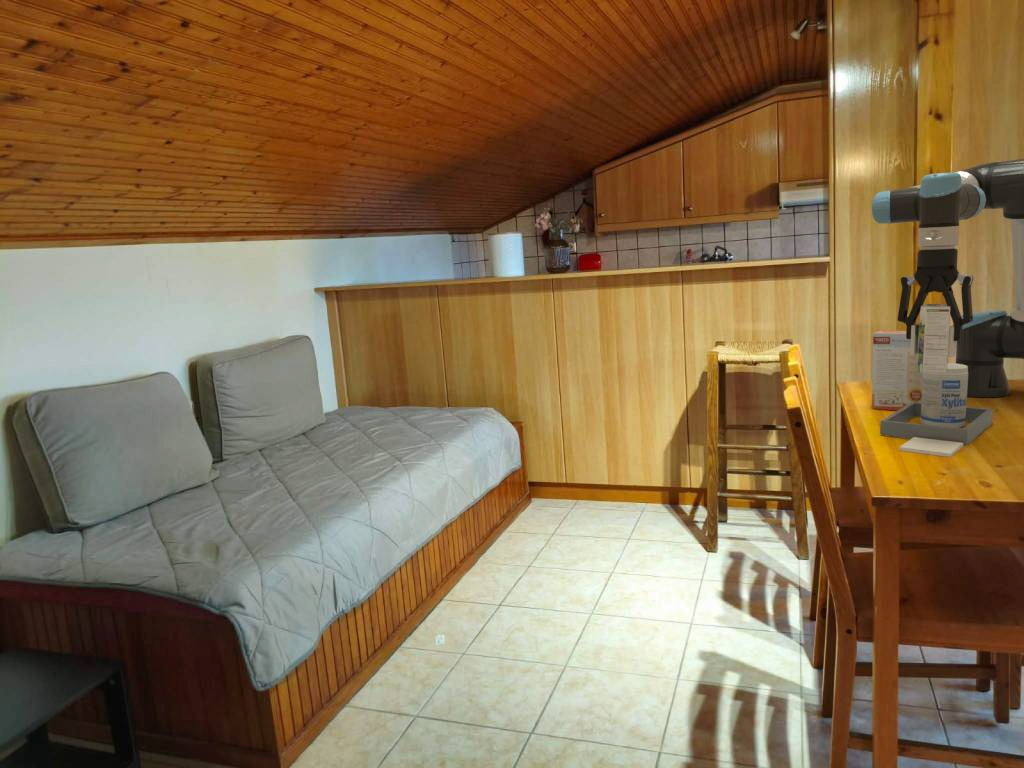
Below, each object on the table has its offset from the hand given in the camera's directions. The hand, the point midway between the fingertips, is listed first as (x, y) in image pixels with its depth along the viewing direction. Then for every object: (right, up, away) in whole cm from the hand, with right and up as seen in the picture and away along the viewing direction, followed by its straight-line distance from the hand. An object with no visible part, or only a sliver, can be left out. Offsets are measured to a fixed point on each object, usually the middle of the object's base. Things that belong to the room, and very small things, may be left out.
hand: (932, 355), depth 167 cm
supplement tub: (+13, -16, +19) cm, 28 cm away
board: (0, -20, 0) cm, 20 cm away
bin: (+10, -17, +15) cm, 25 cm away
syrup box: (0, -4, +1) cm, 4 cm away
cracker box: (+12, -13, +37) cm, 41 cm away
